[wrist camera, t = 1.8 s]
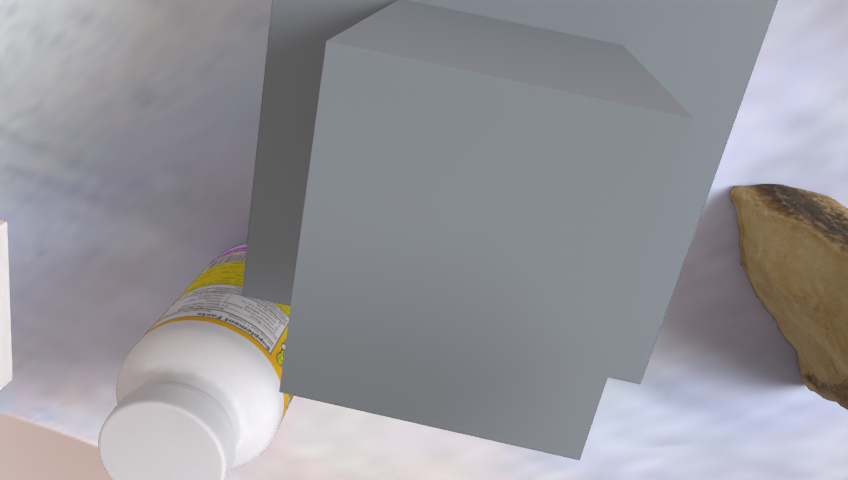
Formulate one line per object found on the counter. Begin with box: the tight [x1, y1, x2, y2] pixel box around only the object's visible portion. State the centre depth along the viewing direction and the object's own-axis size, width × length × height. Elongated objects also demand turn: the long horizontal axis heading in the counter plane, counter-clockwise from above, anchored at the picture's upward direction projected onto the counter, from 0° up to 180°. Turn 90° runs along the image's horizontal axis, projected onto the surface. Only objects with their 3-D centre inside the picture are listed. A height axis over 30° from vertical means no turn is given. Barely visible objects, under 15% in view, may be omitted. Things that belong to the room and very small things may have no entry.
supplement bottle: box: [98, 244, 294, 480], centre depth 33 cm, size 7×7×13 cm
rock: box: [730, 184, 848, 410], centre depth 32 cm, size 11×9×10 cm
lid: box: [242, 0, 778, 460], centre depth 21 cm, size 15×15×11 cm
